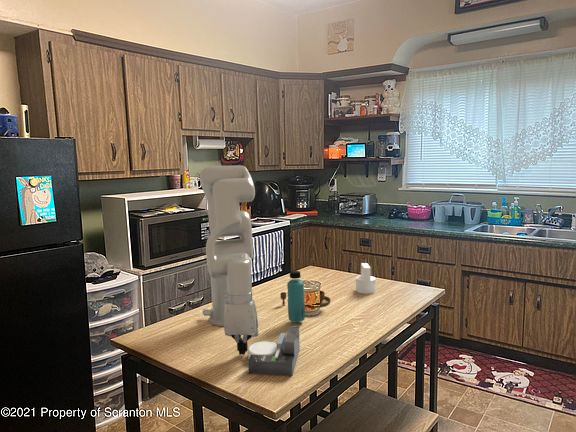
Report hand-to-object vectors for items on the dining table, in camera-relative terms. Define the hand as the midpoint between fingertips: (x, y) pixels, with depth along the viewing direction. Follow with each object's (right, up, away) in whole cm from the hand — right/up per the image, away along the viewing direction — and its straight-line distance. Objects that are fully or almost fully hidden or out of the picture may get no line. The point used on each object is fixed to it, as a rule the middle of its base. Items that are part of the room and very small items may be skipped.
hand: (242, 352), depth 138 cm
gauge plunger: (+12, -1, -5) cm, 13 cm away
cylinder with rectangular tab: (+51, +9, +63) cm, 81 cm away
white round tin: (+7, -2, -1) cm, 7 cm away
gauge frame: (+11, -1, -4) cm, 11 cm away
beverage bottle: (+18, +3, +27) cm, 32 cm away
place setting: (+23, +6, +50) cm, 55 cm away
